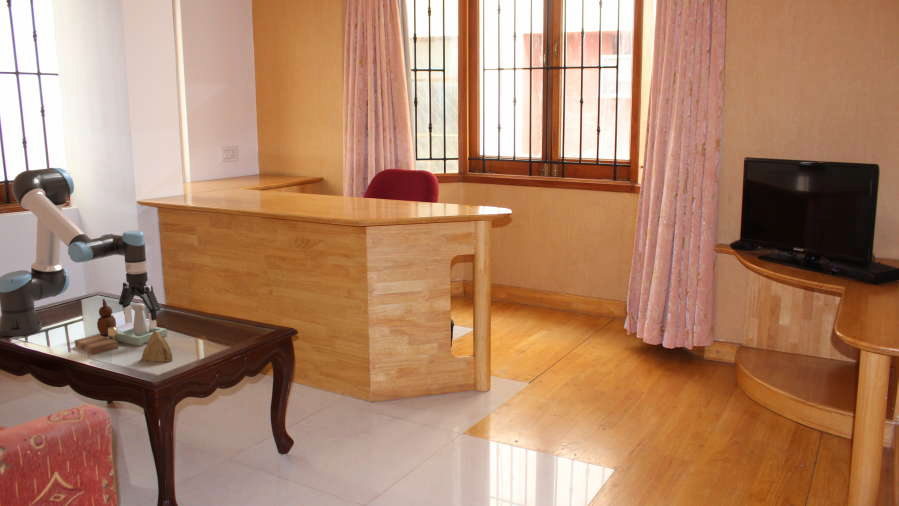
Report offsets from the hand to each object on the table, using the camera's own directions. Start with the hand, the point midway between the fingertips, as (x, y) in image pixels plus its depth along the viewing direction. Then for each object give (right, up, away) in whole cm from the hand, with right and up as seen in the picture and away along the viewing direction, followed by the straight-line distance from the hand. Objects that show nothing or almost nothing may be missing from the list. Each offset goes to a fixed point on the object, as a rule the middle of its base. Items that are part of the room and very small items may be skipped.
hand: (140, 325), depth 293 cm
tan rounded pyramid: (+15, -10, -23) cm, 29 cm away
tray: (0, -5, +1) cm, 5 cm away
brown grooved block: (-13, -8, -9) cm, 18 cm away
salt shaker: (0, -4, +1) cm, 5 cm away
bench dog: (-9, -6, -4) cm, 12 cm away
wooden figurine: (-15, -4, +6) cm, 17 cm away
